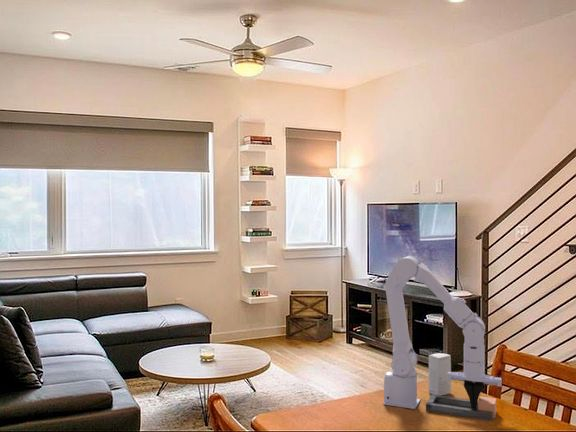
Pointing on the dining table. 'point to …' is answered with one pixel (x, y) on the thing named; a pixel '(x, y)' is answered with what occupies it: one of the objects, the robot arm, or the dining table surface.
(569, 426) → the dining table surface
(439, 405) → the grey tray
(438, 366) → the skincare box
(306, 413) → the dining table surface
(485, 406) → the block
